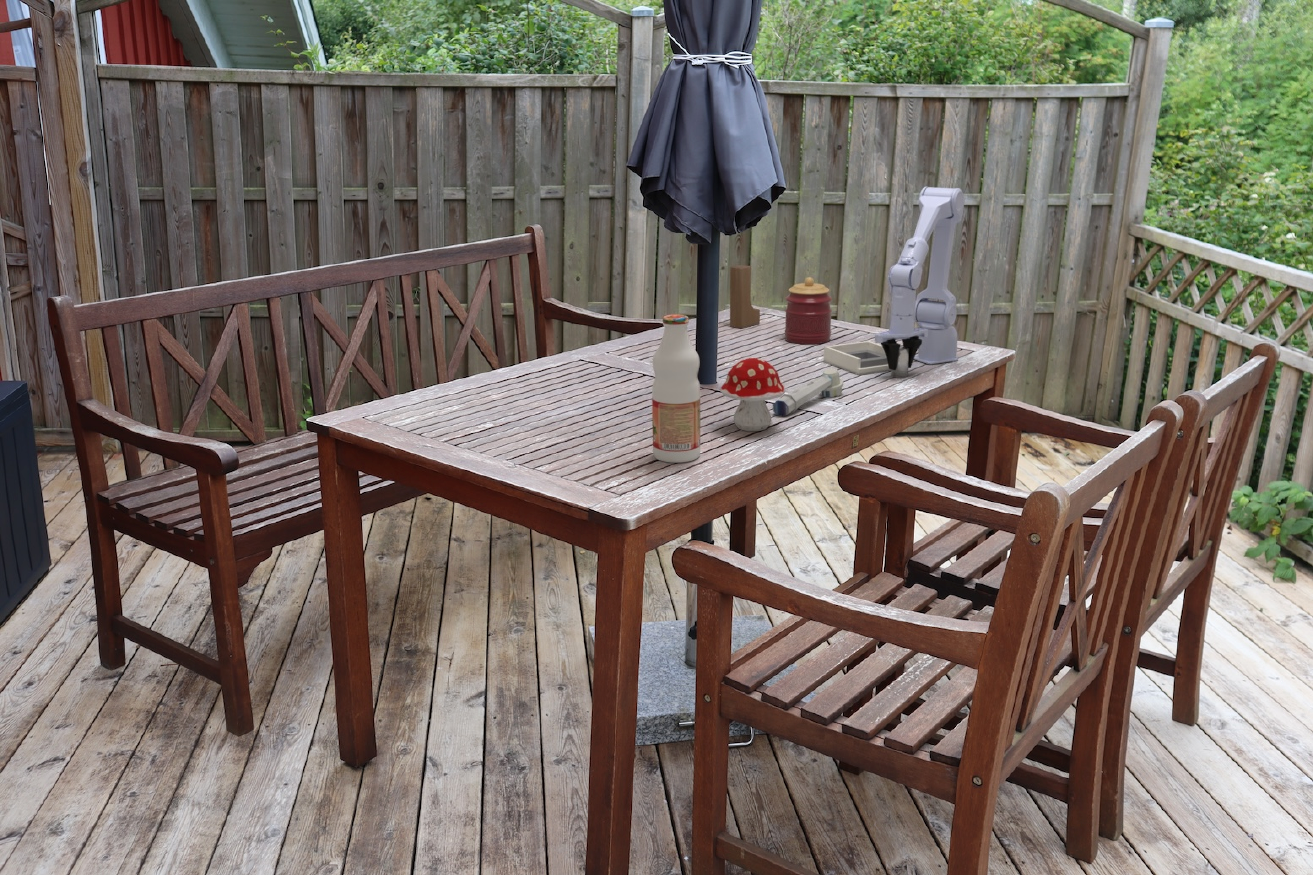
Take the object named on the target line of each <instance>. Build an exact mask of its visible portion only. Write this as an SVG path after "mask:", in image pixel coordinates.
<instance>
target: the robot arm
mask: <svg viewBox="0 0 1313 875" xmlns="http://www.w3.org/2000/svg"><path fill="white" fill-rule="evenodd" d="M965 200H966V199H965V196H964V193H963V191H962V188H959V187H956V188H953V187H952V188H950V187H935V186H934V187H932V186H931V187H930V186H924V187H923V188H922V189H921V190H920V193H919V195H918V209H919V212H920V214H919V217H918V220H917V223H916V228H915V231H914V234H913V236H912V237H910V238H909V239H907V240H906V242H905V244H904V246H903V249H902V251H901V254H900V256H899V257H898V258H899V259H898V261H897V263H896V264H894V265H891V267H890V268H889V273H888V276H887V283H888V286H889V294H890V295H891V302H890V319H889V320H890V321H889V322H890V323H889V324H890V326H889V330H886V331H882V332H879V333H875V334H874V343H877V344H878V343H879V344H880V345H882V347H883V349H884V351H885V354H886V357H887V361H888V367H889V369H891V370H896V367H897V357H898V352H899V349H900V346H904V347H908V348H909V363H908V369H911V368H912V366H913V363H914V362H913V361H918V362H920V363H924V364H927V365H935V364H936V365H937V364H941V363H951V362H957V361H959V358H957V351H958V332H957V329H956V328H955V327H954V326H953V325H954V324H955V322H956V319H957V315H958V314H957V313H958V312H957V298H956V296H955V295H954V294H953V293H952V292H951V291H950V290H949V289H948V284H949V283H948V282H949V277H950V276H949V275H950V268H951V263H952V262H951V261H952V254H953V247H954V239H955V230H956V227H957V224H958V223H961V222H962V219H963V217H964V216H963V215H964V206H965ZM933 231H934V234H933V235H934V236H933V242H932V248H931V249H932V251H931V258H930V263H929V264H930V265H929V272H928V280H927V286H926V288H925V289H923V290H922V291H920V292H919V293H918V294H917V289H918V288H919V287H920V284H921V281H922V274H923V264H924V263H925V260H926V258H927V254H928V252H929V250H930V249H929V244H928V241H929V239H930V238H931V235H932V233H933ZM930 299H931V300H930ZM932 299H933V300H932ZM938 300H941V301H938ZM915 323H916V326H917V327H918V328H917V327H915ZM900 340H901V341H902V345H901V343H898V341H900ZM916 354H917V355H916Z"/></svg>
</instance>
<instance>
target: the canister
mask: <svg viewBox="0 0 1313 875" xmlns="http://www.w3.org/2000/svg"><path fill="white" fill-rule="evenodd" d="M788 292H789V294H788V295H787V296H785V298H784V299H785V301H786V308H785V309H784V311H785V324H784V325H785V326H784V327H785V328H784V329H785V330H784V337H785V340H786V342H790V343H795V344H800V345H801V344H802V345H818V344H825V343H827V342H829V341H830V340H831V336H832V329H831V328H832V313H833V310H832V308H831V302H833V297H832V296H831V295H829V292H830V289H829V288H828V287H826V286H825V284H822V283H815V280H814V278H813V277H812V276H811V277H810V276H808V277H806V278H805V279H804V282H803V283H802V282H801V283H795V284H793V286H792V287H790V288H789V289H788Z"/></svg>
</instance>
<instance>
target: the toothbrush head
mask: <svg viewBox="0 0 1313 875" xmlns="http://www.w3.org/2000/svg"><path fill="white" fill-rule="evenodd" d="M840 377H841V376H840V372H839V370H838V369H837V368H827V369H825V370H824V371H823V372H822V375H821V376H819V377H817V378H815V379H814V380H812V381H810V382H807V383H806V384H804V385H802V386H800V387H798V388H796V389H794V390H793V391H790V392H789V393H784V394H783V395H782V396H781V397H779V398H778V399H777V400H776V401H775V402H774V403H772V412H773V413H774V414H775V415H776V416H779V417H786V416H788V415H790V414H793V413H795V411H797V410H798V408H799V407H801V406H803V405H804V404H806V403H807V402H809V401H810V400H812V399H813V398H814V397H816V396H817V395H819V394H820V396H822V397H824V398H834V397H840V396H841V395H842V393H843V387H844V380H842V379H841V378H840ZM839 395H840V396H839Z"/></svg>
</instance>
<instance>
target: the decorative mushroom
mask: <svg viewBox="0 0 1313 875" xmlns="http://www.w3.org/2000/svg"><path fill="white" fill-rule="evenodd" d="M719 390H720V393H721V394H722V395H723V396H724V397H727V398H730V399H733V400H737V401H739V404H738V406H737V409H736V410H735V412H734V415H733V422H734V424H735V425H736V427H737V428H738V429H739V430H742V431H747V432H761V431H764V430H766V429H767V428H768V427H769V426H770V425H771V423H772V415H771V412H770V410H769V408H768V406H767V403H766V401H770V400H775V399H779V398H781V397H782V396H783V395H784V394H786V391H787V389H786V387H785V386H784V385H783V383H782V382H781V379H780V376H779V372H778V370H776V369H775V367H774V366H773V365H772V364H770V363H769V362H768V361H766V360H764V359H761V358H759V357H758V358H757V357H749V358H744V359H742V360H740V361H738V362H737V363H735V365H733V366H732V368H730V370H729V371H728V373H727V376H726V380H725V381H724V383H723V384H722V385H721V387H720V388H719Z"/></svg>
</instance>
